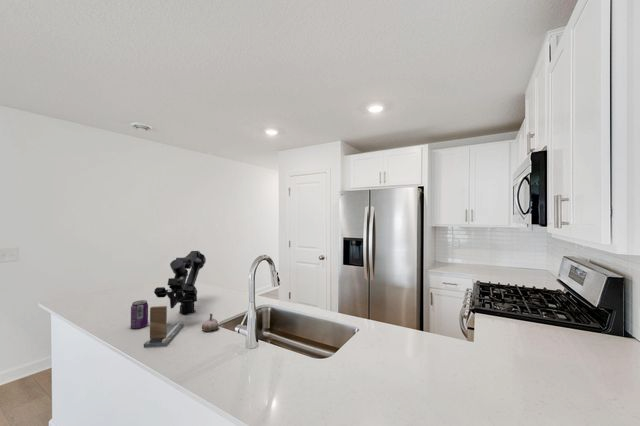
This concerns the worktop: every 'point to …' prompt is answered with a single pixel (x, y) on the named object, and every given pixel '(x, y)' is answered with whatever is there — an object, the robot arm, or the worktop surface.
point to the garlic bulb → (210, 324)
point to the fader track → (171, 333)
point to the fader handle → (158, 323)
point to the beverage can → (139, 314)
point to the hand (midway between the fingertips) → (171, 308)
